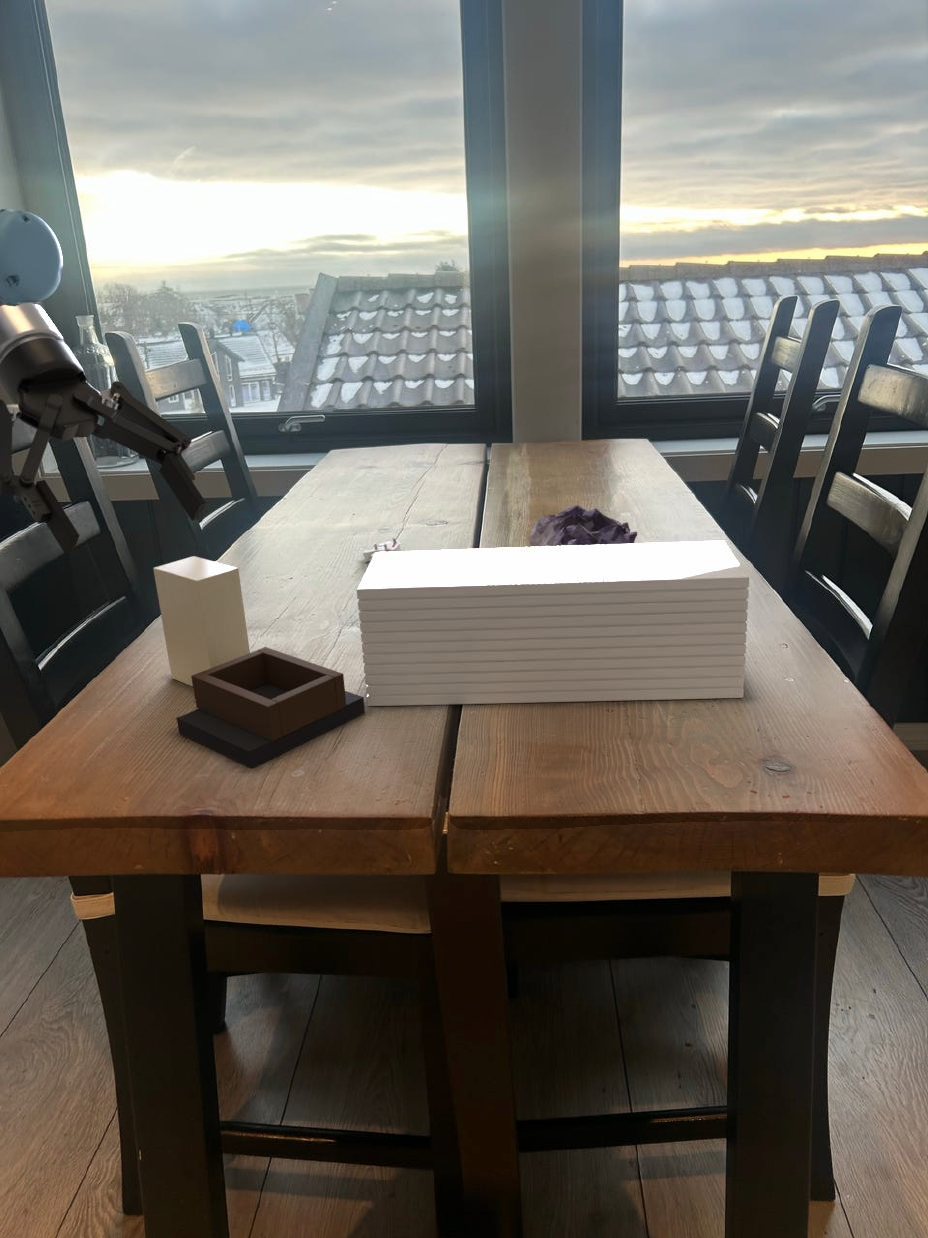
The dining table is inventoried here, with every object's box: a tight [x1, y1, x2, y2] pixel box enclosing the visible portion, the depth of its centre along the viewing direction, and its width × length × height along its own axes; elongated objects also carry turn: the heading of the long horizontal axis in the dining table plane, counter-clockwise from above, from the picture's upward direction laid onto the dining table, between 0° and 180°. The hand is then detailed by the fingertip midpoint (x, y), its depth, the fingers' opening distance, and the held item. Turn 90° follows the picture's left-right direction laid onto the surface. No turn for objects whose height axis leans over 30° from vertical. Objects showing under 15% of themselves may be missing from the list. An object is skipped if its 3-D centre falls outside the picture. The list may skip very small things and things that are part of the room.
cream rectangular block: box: [152, 555, 251, 688], centre depth 92 cm, size 4×7×11 cm, turn 48°
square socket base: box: [176, 646, 366, 769], centre depth 84 cm, size 12×10×4 cm
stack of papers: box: [356, 540, 750, 707], centre depth 89 cm, size 32×11×11 cm, turn 87°
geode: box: [528, 504, 638, 547], centre depth 110 cm, size 20×12×10 cm, turn 9°
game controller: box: [362, 537, 423, 562], centre depth 127 cm, size 6×12×3 cm, turn 101°
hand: (139, 528), depth 95 cm, fingers open, 13 cm apart
